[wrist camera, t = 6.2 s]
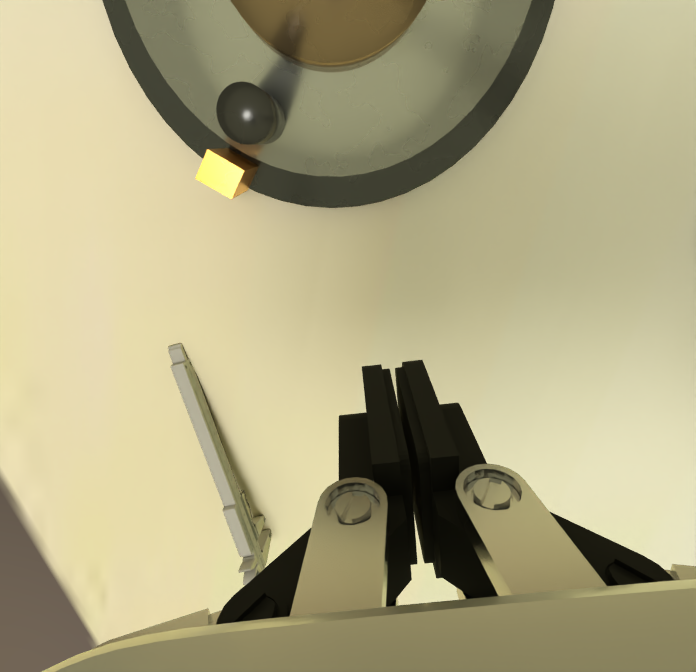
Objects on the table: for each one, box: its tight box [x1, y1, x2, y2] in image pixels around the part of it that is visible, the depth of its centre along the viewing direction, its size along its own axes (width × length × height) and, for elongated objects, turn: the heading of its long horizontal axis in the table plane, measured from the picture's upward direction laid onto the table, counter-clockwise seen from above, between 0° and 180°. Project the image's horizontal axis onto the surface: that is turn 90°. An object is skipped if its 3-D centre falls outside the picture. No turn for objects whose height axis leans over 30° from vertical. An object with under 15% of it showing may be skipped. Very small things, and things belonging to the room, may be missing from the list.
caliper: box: [168, 343, 271, 585], centre depth 34 cm, size 20×1×6 cm, turn 15°
